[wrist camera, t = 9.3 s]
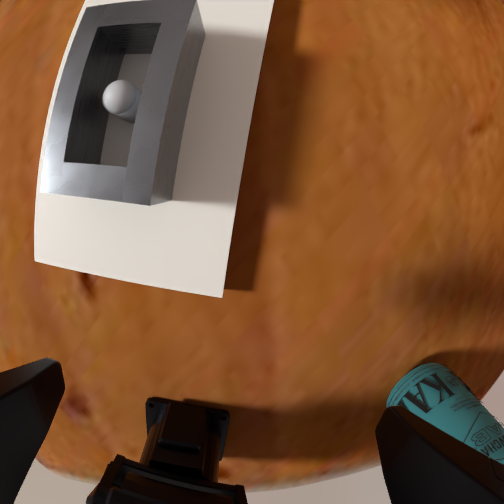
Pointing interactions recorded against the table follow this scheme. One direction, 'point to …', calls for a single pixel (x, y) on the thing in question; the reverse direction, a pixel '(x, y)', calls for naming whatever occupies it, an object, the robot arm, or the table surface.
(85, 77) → the steel link
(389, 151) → the table surface
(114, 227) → the keeper board
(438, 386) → the beverage bottle
